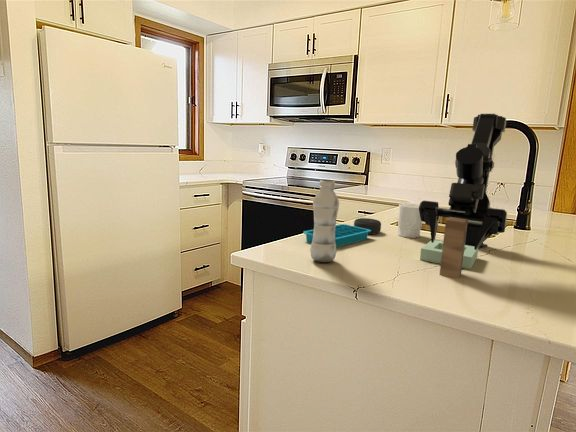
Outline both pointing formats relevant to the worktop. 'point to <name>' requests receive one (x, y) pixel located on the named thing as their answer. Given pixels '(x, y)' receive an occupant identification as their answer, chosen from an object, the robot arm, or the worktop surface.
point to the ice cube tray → (344, 234)
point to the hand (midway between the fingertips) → (453, 245)
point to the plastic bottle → (324, 222)
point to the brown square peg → (453, 247)
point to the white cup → (409, 220)
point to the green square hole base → (434, 253)
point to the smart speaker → (368, 225)
